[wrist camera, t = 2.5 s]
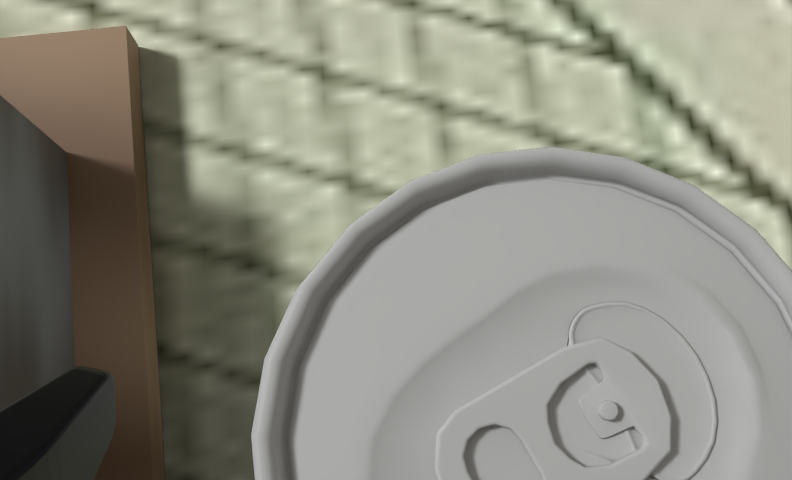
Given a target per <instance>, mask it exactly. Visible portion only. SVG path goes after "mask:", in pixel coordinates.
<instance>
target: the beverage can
mask: <svg viewBox="0 0 792 480" xmlns="http://www.w3.org/2000/svg"><path fill="white" fill-rule="evenodd" d="M251 441H252V453H253V465H254V476H255V480H792V270H791V269H790V268H789V267H788V266H787V265H786V263H785V262H784V261H783V260H782V259H781V258H780V257H779V255H778V254H777V253H776V252H775V251H774V250H773V249H772V247H771V246H770V245H769V244H768V243H767V242H766V241H765V239H764V238H763V237H762V236H761V235H760V234H759V233H758V231H757V230H756V229H754V228H753V227H751V226H750V225H749V224H747V223H746V222H744V221H743V220H742V219H740V218H739V217H737V216H736V215H735V214H733V213H732V212H731V211H729V210H728V209H726V208H725V207H724V206H722V205H721V204H719V203H718V202H717V201H715V200H714V199H712V198H711V197H710V196H708V195H707V194H705V193H704V192H703V191H701V190H700V189H698V188H697V187H696V186H694V185H692V184H690V183H687V182H685V181H682V180H680V179H677V178H675V177H672V176H670V175H667V174H665V173H662V172H660V171H657V170H655V169H652V168H650V167H647V166H645V165H642V164H640V163H637V162H635V161H632V160H630V159H627V158H625V157H619V156H612V155H605V154H598V153H591V152H584V151H577V150H570V149H563V148H556V147H545V148H536V149H527V150H518V151H509V152H500V153H492V154H483V155H477V156H475V157H472V158H469V159H467V160H464V161H462V162H459V163H456V164H454V165H451V166H448V167H446V168H443V169H441V170H438V171H435V172H433V173H430V174H427V175H425V176H422V177H420V178H417V179H414V180H412V181H410V182H408V183H407V184H405V185H404V186H403V187H401V188H400V189H399V190H397V191H396V192H394V193H393V194H392V195H390V196H389V197H388V198H386V199H385V200H383V201H382V202H381V203H379V204H378V205H377V206H375V207H374V208H372V209H371V210H370V211H368V212H367V213H366V214H364V215H363V216H361V217H360V218H359V219H357V220H356V221H355V222H353V223H352V224H350V225H349V227H348V228H347V229H346V230H345V232H344V233H343V234H342V235H341V236H340V237H339V238H338V239H337V241H336V242H335V243H334V244H333V246H332V247H331V248H330V249H329V250H328V252H327V253H326V254H325V255H324V256H323V258H322V259H321V260H320V261H319V263H318V264H317V265H316V266H315V267H314V269H313V270H312V271H311V272H310V273H309V275H308V276H307V277H306V278H305V280H304V281H303V282H302V283H301V284H300V286H299V287H298V288H297V289H296V290H295V293H294V295H293V297H292V299H291V301H290V304H289V306H288V308H287V310H286V312H285V315H284V317H283V319H282V321H281V324H280V326H279V328H278V330H277V332H276V335H275V337H274V339H273V341H272V343H271V346H270V348H269V350H268V352H267V354H266V357H265V359H264V364H263V370H262V376H261V381H260V387H259V393H258V398H257V404H256V410H255V415H254V421H253V427H252V432H251Z"/></svg>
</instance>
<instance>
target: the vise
mask: <svg viewBox="0 0 792 480" xmlns="http://www.w3.org/2000/svg"><path fill="white" fill-rule="evenodd" d="M77 366H87V367H92V368H96V369H100V370H105V371H108V372H110V373H111V374H112V375H113V377H114V381H115V409H116V423H115V429H114V433H113V436H112V439H111V441H110V444H109V446H108V448H107V450H106V453H105V455H104V457H103V459H102V462H101V464H100V466H99V468H98V471H97V473H96V475H95V478H94V480H165V464H164V448H163V432H162V416H161V400H160V384H159V368H158V353H157V337H156V321H155V305H154V289H153V273H152V257H151V241H150V225H149V209H148V193H147V177H146V162H145V146H144V130H143V114H142V98H141V82H140V66H139V50H138V45H137V43H136V41H135V40H134V38H133V37H132V35H131V33H130V32H129V30H128V29H127V27H126V26H120V27H110V28H100V29H90V30H80V31H70V32H60V33H50V34H39V35H29V36H19V37H9V38H0V411H1V410H2V409H4V408H6V407H7V406H9V405H11V404H12V403H14V402H16V401H17V400H19V399H21V398H23V397H24V396H26V395H28V394H29V393H31V392H33V391H34V390H36V389H38V388H39V387H41V386H43V385H45V384H46V383H48V382H50V381H51V380H53V379H55V378H56V377H58V376H60V375H61V374H63V373H65V372H67V371H68V370H70V369H72V368H74V367H77Z"/></svg>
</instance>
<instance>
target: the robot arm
mask: <svg viewBox="0 0 792 480" xmlns="http://www.w3.org/2000/svg"><path fill="white" fill-rule="evenodd" d="M115 423H116V409H115V381H114V377H113V375H112V374H111V373H110V372H108V371H105V370H100V369H96V368H92V367H87V366H77V367H74V368H72V369H70V370H68V371H67V372H65V373H63V374H61V375H60V376H58V377H56V378H55V379H53V380H51V381H50V382H48V383H46V384H45V385H43V386H41V387H39V388H38V389H36V390H34V391H33V392H31V393H29V394H28V395H26V396H24V397H23V398H21V399H19V400H17V401H16V402H14V403H12V404H11V405H9V406H7V407H6V408H4V409H2V410H1V411H0V480H94V478H95V475H96V473H97V471H98V468H99V466H100V464H101V462H102V459H103V457H104V455H105V453H106V450H107V448H108V446H109V444H110V441H111V439H112V436H113V433H114V429H115Z"/></svg>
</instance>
